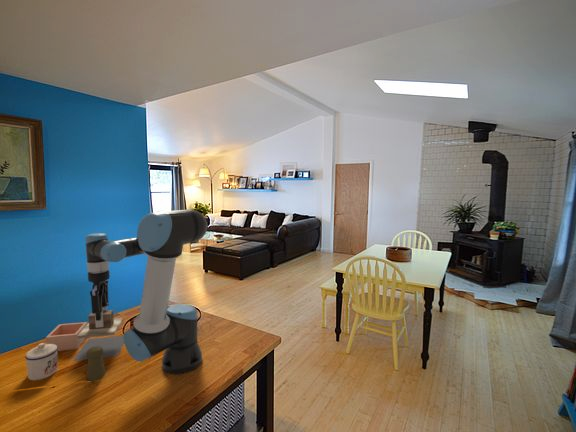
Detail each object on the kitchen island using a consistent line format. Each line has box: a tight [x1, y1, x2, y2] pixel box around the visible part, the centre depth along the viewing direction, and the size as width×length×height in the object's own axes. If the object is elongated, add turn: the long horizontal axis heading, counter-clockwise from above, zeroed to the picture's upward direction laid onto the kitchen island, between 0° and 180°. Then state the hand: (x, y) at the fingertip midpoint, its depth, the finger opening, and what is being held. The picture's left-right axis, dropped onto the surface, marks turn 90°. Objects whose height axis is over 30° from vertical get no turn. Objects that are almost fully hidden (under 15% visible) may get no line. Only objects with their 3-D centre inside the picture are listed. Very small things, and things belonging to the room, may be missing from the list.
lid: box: [78, 309, 124, 339], centre depth 123 cm, size 13×13×7 cm
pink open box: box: [45, 321, 88, 352], centre depth 126 cm, size 11×11×7 cm
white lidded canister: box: [24, 342, 59, 381], centre depth 108 cm, size 12×9×12 cm
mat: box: [72, 335, 125, 362], centre depth 124 cm, size 16×16×1 cm
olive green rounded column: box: [86, 346, 107, 382], centre depth 107 cm, size 6×6×11 cm
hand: (101, 324), depth 123 cm, fingers closed on lid, 4 cm apart
